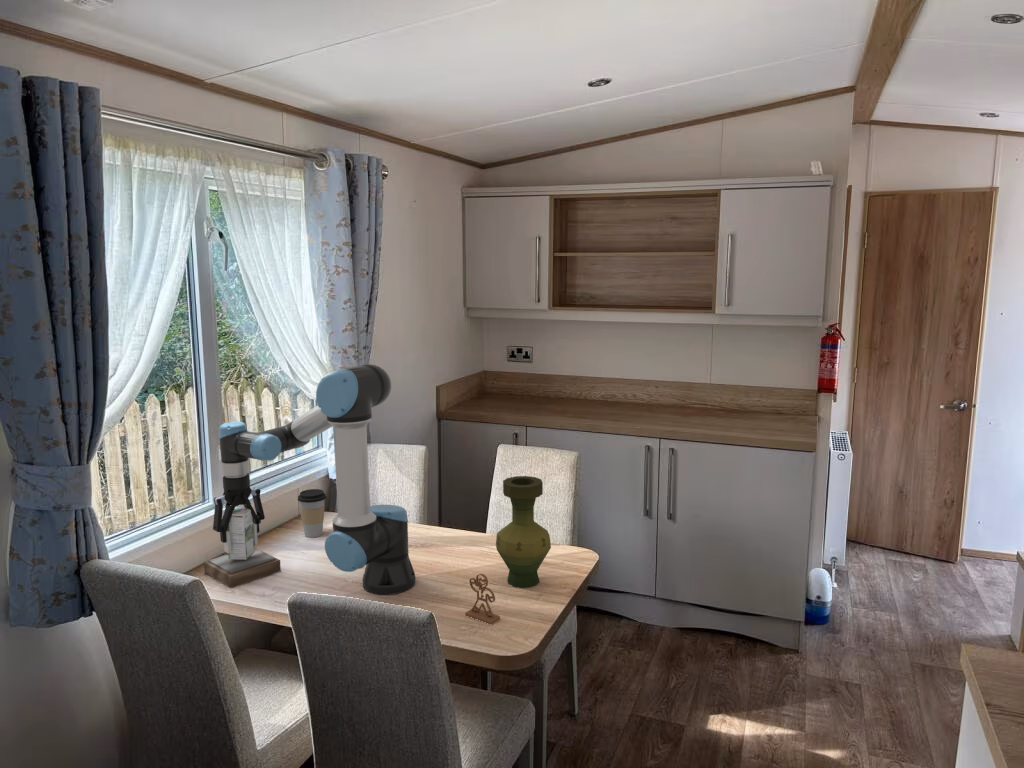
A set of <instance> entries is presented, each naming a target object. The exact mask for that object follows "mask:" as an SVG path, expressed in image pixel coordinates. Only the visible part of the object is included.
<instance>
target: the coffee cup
mask: <svg viewBox="0 0 1024 768" xmlns="http://www.w3.org/2000/svg"><path fill="white" fill-rule="evenodd" d="M326 498H327V494H326V493H325V491H324V490H322V489H319V488H318V489H317V488H314V489H313V488H311V489H305V490H302V491H300V492H299V495H298V496H297V501H298V502H299V511H300V517H301V523H302V526H303V532H304V536H305V537H306V538H313V539H314V538H318V537H321V536H322V535H323V534H324V533H323V531H324V521H325V520H324V519H325V500H326Z"/></svg>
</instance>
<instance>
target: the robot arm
mask: <svg viewBox="0 0 1024 768" xmlns="http://www.w3.org/2000/svg"><path fill="white" fill-rule="evenodd" d="M315 391H316V392H315V399H316V403H317V405H316V406H314V407H312V408H311V409H309V410H308V411H306V412H304V413H303V414H301V415H300V416H298V417H296V418H295V419H293V420H292V421H290V422H289V423H287V424H285V425H281V426H278V427H275V428H271V429H268V430H263V431H260V432H254V431H248V429H247V424H246V423H244V422H242V421H231V422H229V421H228V422H225V423H222V424H221V425H220V426H219V433H218V434H219V437H218V439H219V448H220V460H221V473H222V475H223V476H222V488H223V493H222V495H221V496H219V497H214V498H213V502H214V512H213V513H214V514H213V523H212V524H213V525H212V530H213V531H215V532H217V533H219V536H220V542H221V543H223V551H224V552H225V553H227V554H228V553H231V545H230V532H229V531H227V528H228V525H229V522H230V519H231V516H232V513H233V510H234V509H235V507H239V506H242V505H243V507H246V508H247V509H249V510H250V509H251V515H252V519H253V535H254V546H258V544H259V543H258V542H259V540H258V533H260V524H261V522H262V520H263V521H264V520H265V518H266V517H265V513H264V509H263V503H262V500H261V489H259V488H257V487H253V488H251V486H250V485H251V479H250V478H251V477H250V474H249V472H250V463H249V459H255V460H258V461H262V462H263V461H269V462H270V461H273V460H275V459H276V458H277V457H278V456H279V455H280V454H281V453H284V452H287V451H292V450H294V449H300V448H302V447H304V446H306V445H308V444H309V443H310V441H311V440H312V439H313V438H315V437H317V436H319V435H321V434H323V433H324V432H325V431H327V430H329V429H331V428H332V429H333V430H332V431H333V446H334V447H333V448H334V449H333V450H334V462H335V463H334V464H335V482H336V486H335V487H336V502H337V505H336V506H337V514H336V515H335V516H334V517H333V518H332V532H330V533H329V535H328V536H327V537H326V539H325V541H324V551H325V554H326V556H327V557H326V558H327V559H328V560H329V562H331V564H333V566H334V567H335V568H336V569H338V570H340V571H343V572H348V573H349V572H350V573H351V572H355V571H357V570H360V569H363V568H364V567H365V569H364V573H363V575H362V578H361V579H362V580H361V581H362V588H363V589H364V590H365V591H366V592H368V593H370V594H374V593H376V594H375V595H394V594H393V593H395V594H399V593H404V592H405V591H408V590H410V589H411V588H413V587H414V586H415V585H416V573H415V570H414V567H413V565H412V562H411V559H410V555H409V531H408V530H409V527H408V522H409V520H408V513H407V510H406V509H405V508H404V507H403V506H400V505H394V504H375V505H371V498H370V497H371V496H370V495H371V493H370V476H369V475H370V473H369V457H368V456H369V453H368V451H369V450H368V436H367V435H368V434H367V433H368V431H367V425H368V424H369V422H370V421H371V420H372V419H373V416H372V415H373V414H372V413H373V411H372V410H373V409H372V408H375V407H376V406H379V405H381V404H383V403H384V402H385V401H386V400H387V399H388V398H389V396H390V394H391V391H392V381H391V378H390V375H389V374H388V373H387V371H386V370H384V369H383V368H382V367H380V366H379V365H376V364H370V363H368V364H362V365H357V366H351V367H346V368H345V367H344V368H338V369H336V370H334V371H330V372H328V373H326V374H325V375H324V376H323V377H322V378H321V379H320V381H319V382H318V384H317V387H316V390H315ZM250 496H252V501H253V505H254V508H253V506H252V502H251V501H250V499H249V498H250ZM225 501H226V502H225ZM224 502H225V506H223V505H224ZM224 507H225V509H223V508H224ZM254 509H255V510H254ZM223 510H224V513H223Z"/></svg>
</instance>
